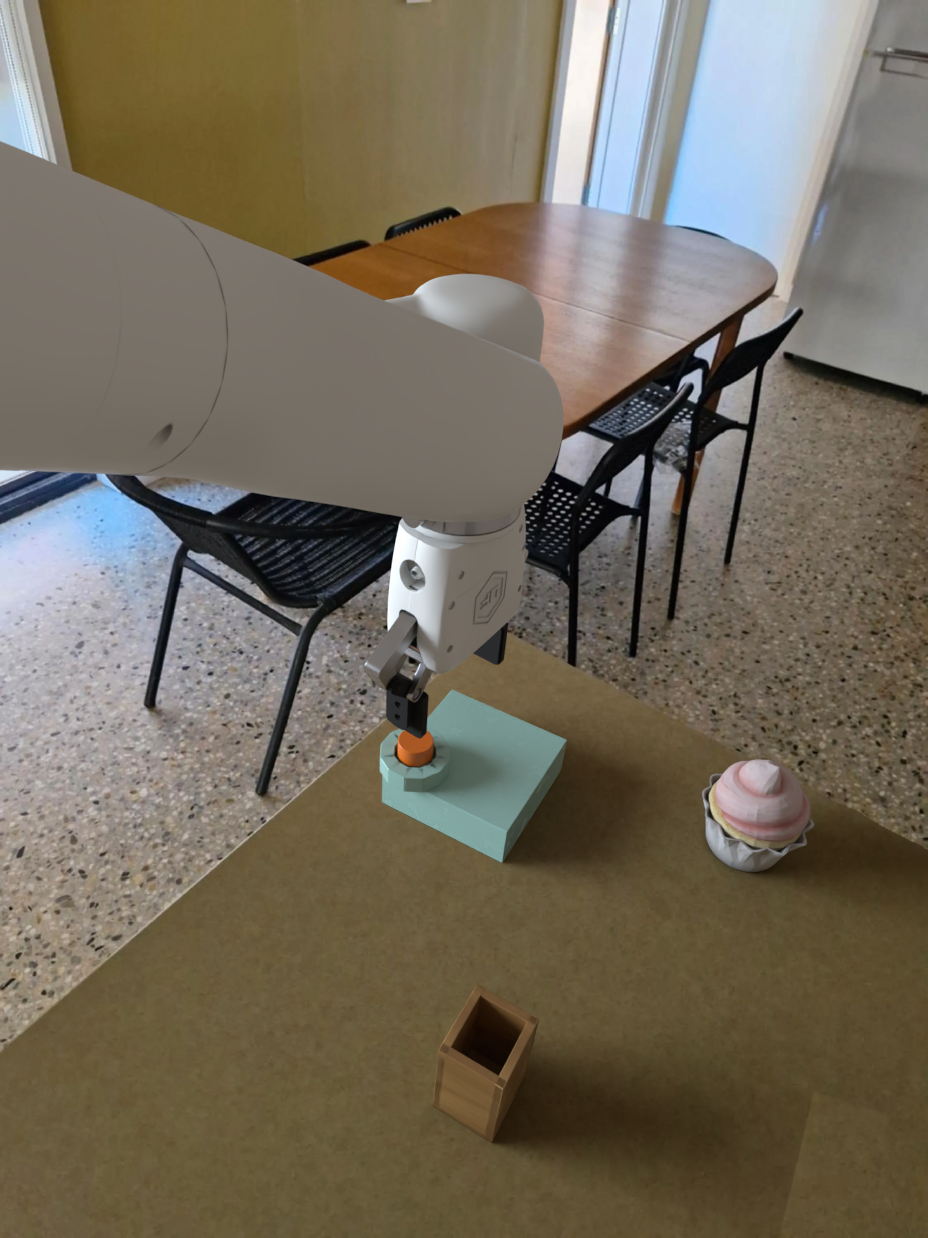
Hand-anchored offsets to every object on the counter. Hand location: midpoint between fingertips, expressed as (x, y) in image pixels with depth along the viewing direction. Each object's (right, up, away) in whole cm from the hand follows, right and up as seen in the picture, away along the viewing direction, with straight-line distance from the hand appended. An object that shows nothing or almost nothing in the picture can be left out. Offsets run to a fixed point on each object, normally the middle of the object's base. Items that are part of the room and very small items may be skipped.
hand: (447, 690), depth 65 cm
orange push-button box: (+2, -10, +15) cm, 18 cm away
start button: (-3, -6, +10) cm, 12 cm away
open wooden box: (+2, -27, -5) cm, 27 cm away
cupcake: (+26, -14, +12) cm, 32 cm away
